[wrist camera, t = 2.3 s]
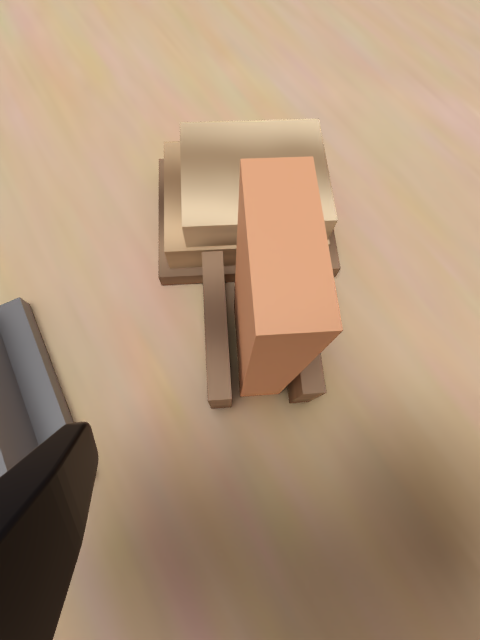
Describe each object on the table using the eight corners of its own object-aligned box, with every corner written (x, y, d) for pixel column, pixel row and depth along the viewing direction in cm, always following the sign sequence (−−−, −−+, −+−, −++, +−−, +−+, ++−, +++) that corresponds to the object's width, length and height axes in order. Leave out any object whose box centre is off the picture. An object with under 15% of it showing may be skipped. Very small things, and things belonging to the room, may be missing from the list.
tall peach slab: (278, 394, 19) (342, 330, 8) (240, 396, 19) (255, 335, 8) (269, 304, 20) (313, 156, 10) (233, 306, 20) (240, 158, 10)
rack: (356, 398, 19) (395, 384, 14) (161, 412, 18) (140, 401, 14) (316, 165, 23) (336, 102, 19) (161, 170, 23) (146, 107, 19)
